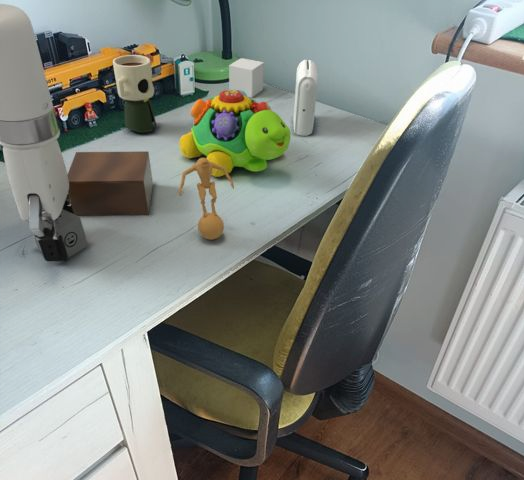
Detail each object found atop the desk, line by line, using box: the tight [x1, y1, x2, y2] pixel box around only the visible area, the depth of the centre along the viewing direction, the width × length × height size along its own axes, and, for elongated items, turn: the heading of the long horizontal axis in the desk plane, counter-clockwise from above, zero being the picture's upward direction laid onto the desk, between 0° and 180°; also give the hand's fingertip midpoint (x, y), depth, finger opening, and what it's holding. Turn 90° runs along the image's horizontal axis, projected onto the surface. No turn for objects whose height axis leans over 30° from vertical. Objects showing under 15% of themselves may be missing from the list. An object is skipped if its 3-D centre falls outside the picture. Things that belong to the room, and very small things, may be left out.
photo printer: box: [292, 59, 319, 137], centre depth 105 cm, size 10×4×12 cm, turn 177°
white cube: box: [228, 57, 265, 99], centre depth 121 cm, size 6×6×6 cm
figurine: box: [178, 157, 235, 241], centre depth 77 cm, size 8×6×12 cm
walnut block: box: [67, 150, 154, 217], centre depth 85 cm, size 12×10×6 cm
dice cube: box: [32, 209, 89, 263], centre depth 75 cm, size 5×5×5 cm
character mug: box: [112, 54, 157, 133], centre depth 102 cm, size 11×7×13 cm, turn 161°
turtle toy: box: [178, 89, 291, 178], centre depth 94 cm, size 17×23×12 cm
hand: (62, 243), depth 77 cm, fingers closed on dice cube, 7 cm apart
